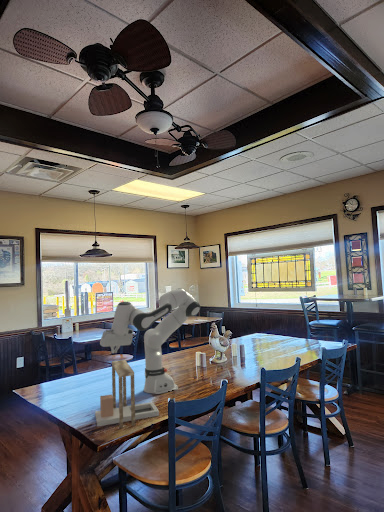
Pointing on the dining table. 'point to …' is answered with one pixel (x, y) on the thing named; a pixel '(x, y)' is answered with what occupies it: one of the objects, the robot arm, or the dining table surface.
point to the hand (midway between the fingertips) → (113, 352)
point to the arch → (123, 388)
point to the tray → (128, 414)
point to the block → (106, 405)
